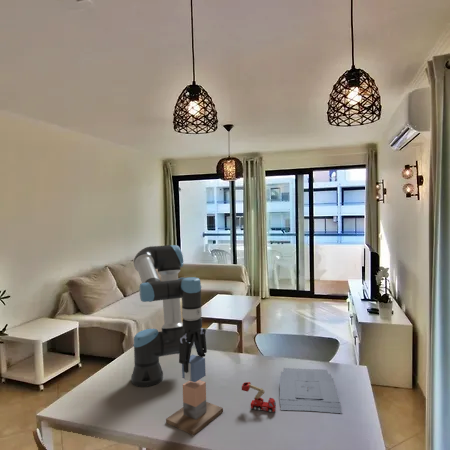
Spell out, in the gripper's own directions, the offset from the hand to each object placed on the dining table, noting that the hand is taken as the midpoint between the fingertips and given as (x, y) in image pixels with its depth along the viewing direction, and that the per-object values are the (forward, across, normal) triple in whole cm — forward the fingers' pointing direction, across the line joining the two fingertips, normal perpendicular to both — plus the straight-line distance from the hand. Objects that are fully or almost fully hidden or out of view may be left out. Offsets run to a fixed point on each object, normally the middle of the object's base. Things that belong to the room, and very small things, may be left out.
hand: (194, 375), depth 137 cm
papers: (+17, +41, -30) cm, 54 cm away
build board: (+17, 0, 0) cm, 17 cm away
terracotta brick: (+10, 0, 0) cm, 10 cm away
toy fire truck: (+17, +19, -18) cm, 31 cm away
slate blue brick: (0, 0, 0) cm, 0 cm away
